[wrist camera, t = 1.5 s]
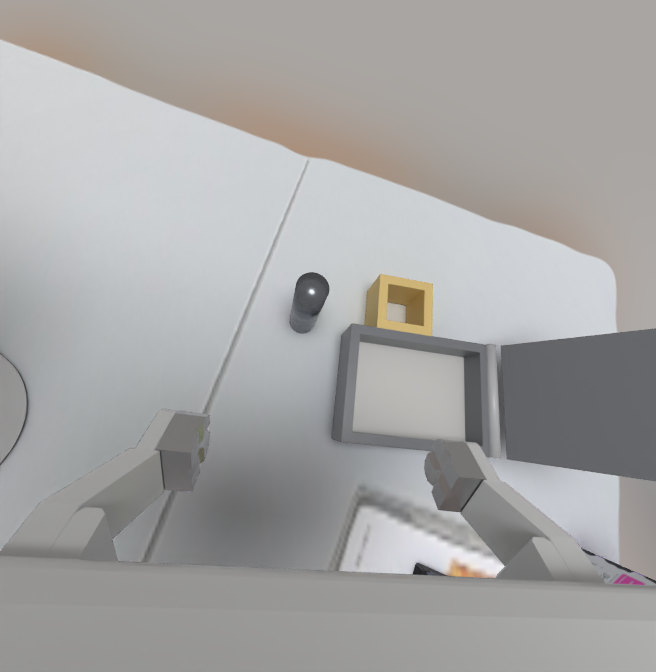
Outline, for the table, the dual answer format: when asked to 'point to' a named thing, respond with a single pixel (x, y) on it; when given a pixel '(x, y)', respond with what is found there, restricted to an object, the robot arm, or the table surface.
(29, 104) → the table surface
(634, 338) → the case lid
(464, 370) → the case
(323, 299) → the rod
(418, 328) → the frame
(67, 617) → the robot arm
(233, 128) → the table surface
